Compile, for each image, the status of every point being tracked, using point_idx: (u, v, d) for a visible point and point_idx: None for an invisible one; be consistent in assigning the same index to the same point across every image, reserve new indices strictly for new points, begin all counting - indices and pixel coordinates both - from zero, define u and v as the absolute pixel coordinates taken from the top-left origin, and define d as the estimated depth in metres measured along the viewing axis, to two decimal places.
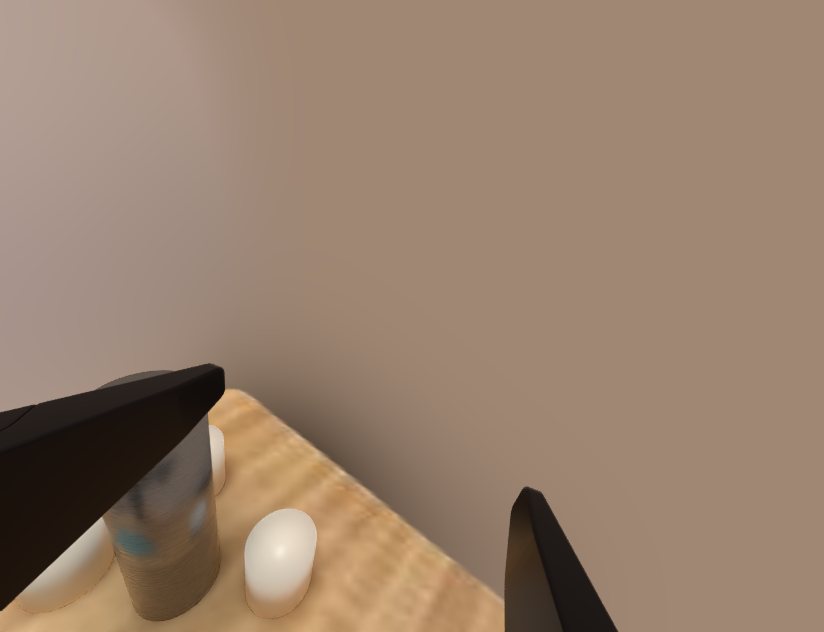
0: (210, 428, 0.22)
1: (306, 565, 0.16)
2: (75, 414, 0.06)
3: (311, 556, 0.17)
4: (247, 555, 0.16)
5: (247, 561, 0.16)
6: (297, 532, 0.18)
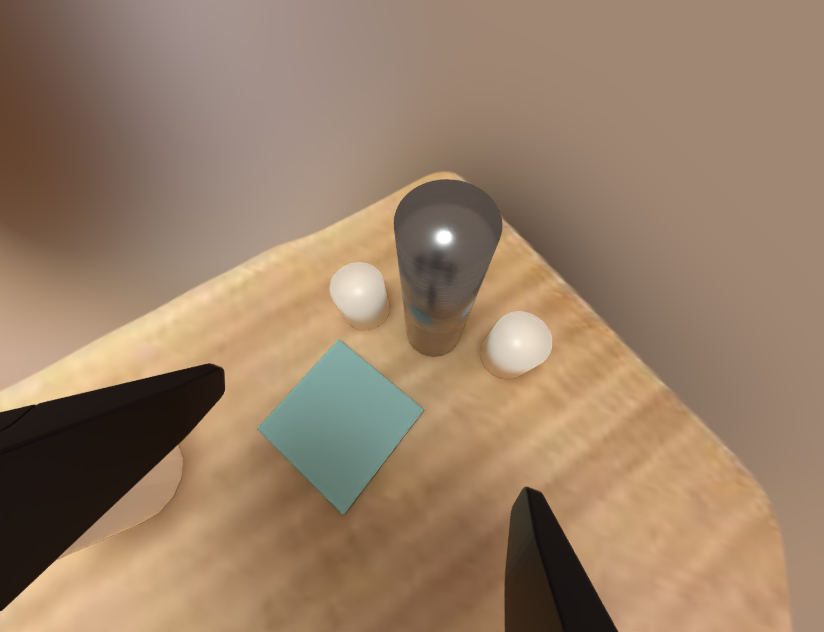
0: None
1: (543, 361, 0.19)
2: (75, 414, 0.06)
3: (547, 356, 0.19)
4: (495, 341, 0.19)
5: (495, 346, 0.19)
6: (535, 334, 0.19)
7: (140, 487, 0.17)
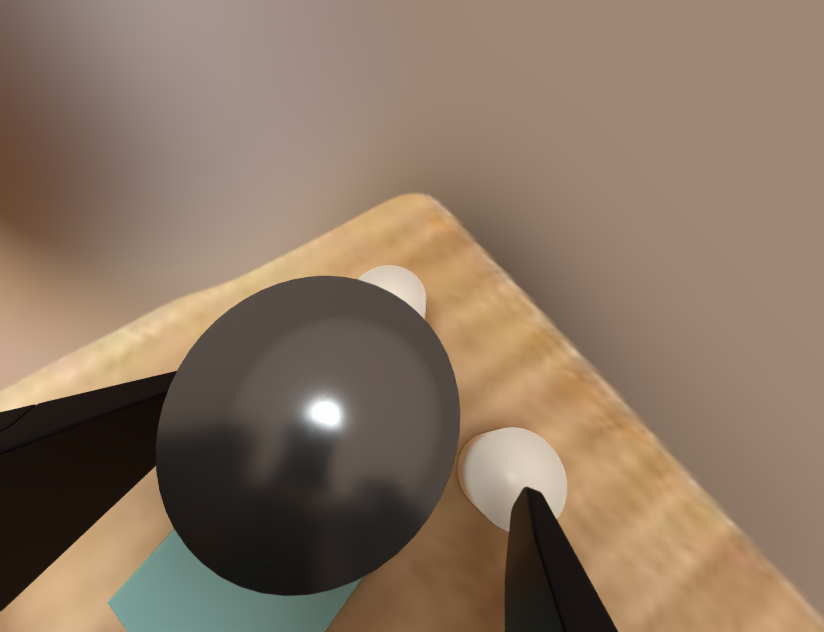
0: (407, 275, 0.15)
1: None
2: (75, 414, 0.06)
3: (560, 508, 0.12)
4: (474, 485, 0.12)
5: (475, 495, 0.12)
6: (537, 468, 0.12)
7: None
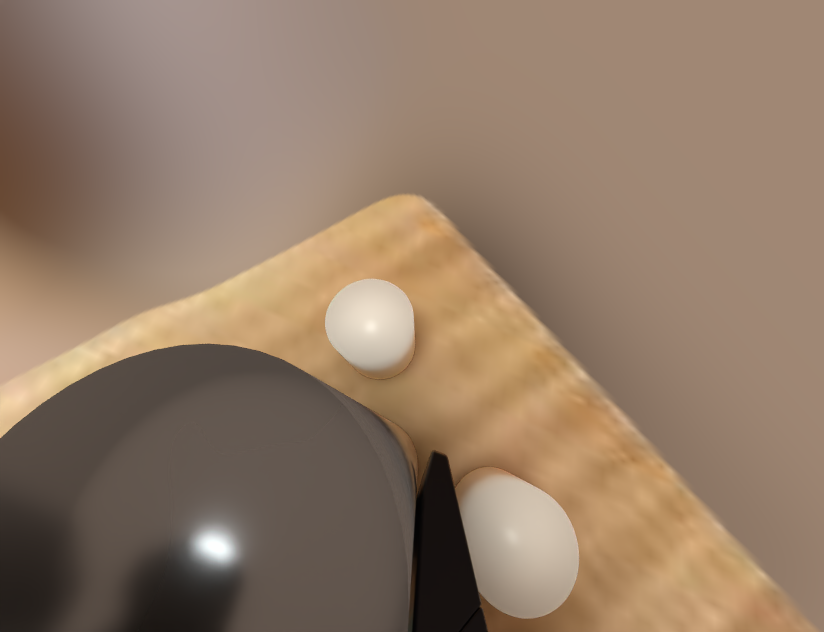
0: (392, 290, 0.13)
1: (566, 592, 0.10)
2: None
3: (573, 578, 0.10)
4: None
5: None
6: (543, 532, 0.10)
7: None
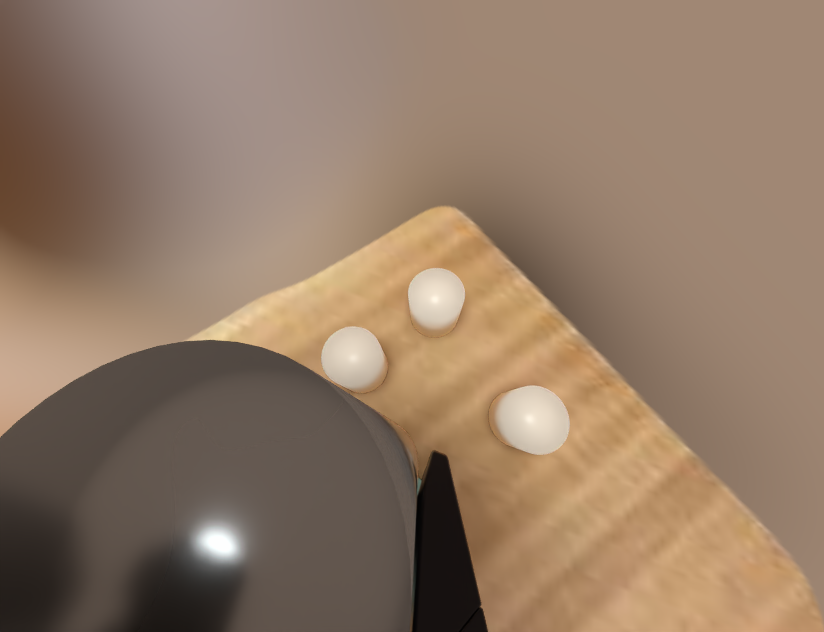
0: (449, 275, 0.20)
1: (564, 439, 0.17)
2: None
3: (567, 431, 0.17)
4: (508, 431, 0.17)
5: (510, 437, 0.17)
6: (547, 409, 0.17)
7: None
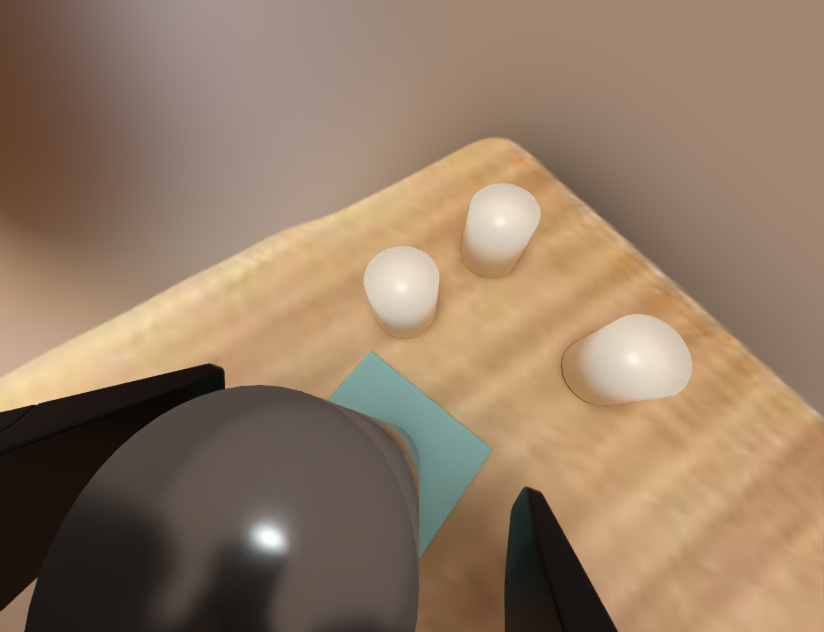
0: (520, 191, 0.17)
1: None
2: (75, 414, 0.06)
3: (688, 363, 0.13)
4: (618, 373, 0.13)
5: (623, 380, 0.13)
6: (658, 340, 0.14)
7: None
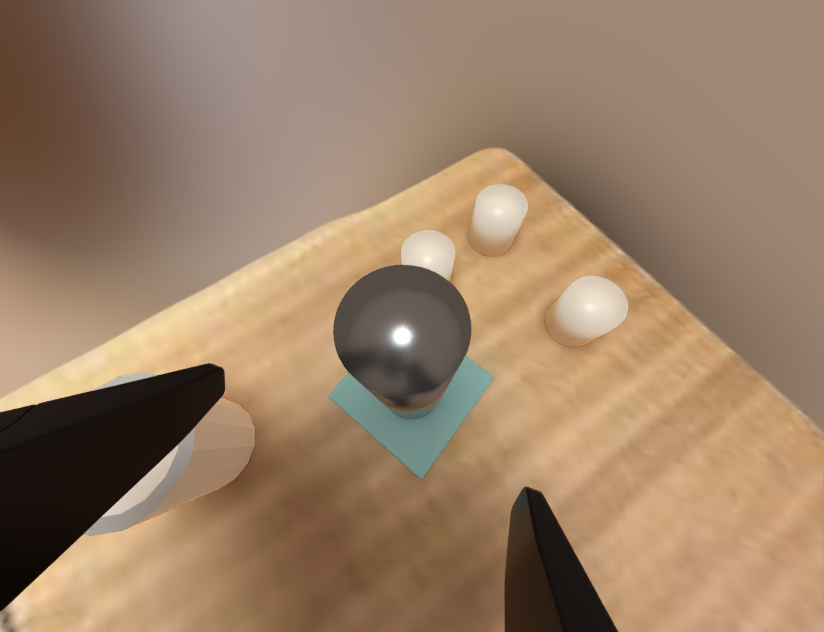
0: (513, 190, 0.23)
1: None
2: (75, 414, 0.06)
3: (625, 303, 0.19)
4: (577, 319, 0.19)
5: (581, 323, 0.19)
6: (603, 291, 0.20)
7: (227, 448, 0.17)
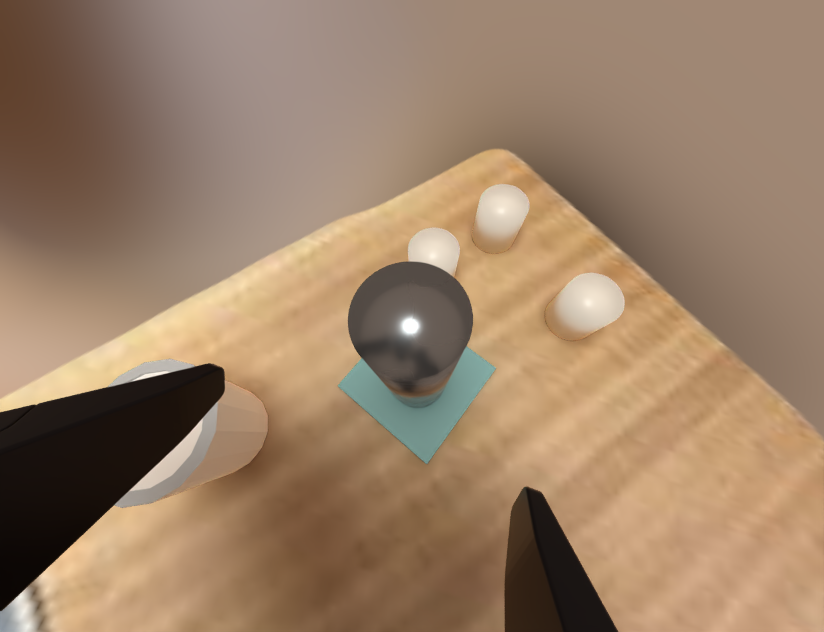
0: (515, 189, 0.24)
1: None
2: (75, 414, 0.06)
3: (621, 296, 0.20)
4: (580, 316, 0.20)
5: (584, 319, 0.20)
6: (599, 287, 0.21)
7: (244, 432, 0.18)
